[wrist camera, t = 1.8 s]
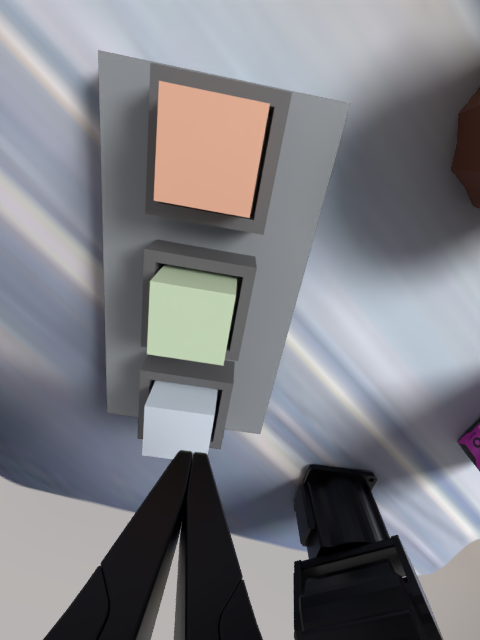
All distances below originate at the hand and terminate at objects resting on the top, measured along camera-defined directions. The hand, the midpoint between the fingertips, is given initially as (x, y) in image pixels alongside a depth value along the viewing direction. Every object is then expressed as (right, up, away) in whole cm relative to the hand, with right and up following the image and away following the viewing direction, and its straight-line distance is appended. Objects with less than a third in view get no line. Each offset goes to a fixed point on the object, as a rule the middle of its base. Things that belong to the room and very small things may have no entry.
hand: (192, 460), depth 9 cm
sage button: (-1, +5, +9) cm, 10 cm away
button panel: (-1, +7, +12) cm, 13 cm away
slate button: (-2, -1, +12) cm, 12 cm away
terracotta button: (0, +12, +5) cm, 13 cm away
